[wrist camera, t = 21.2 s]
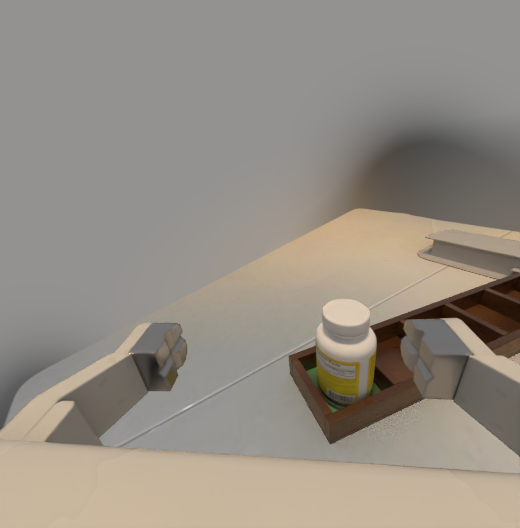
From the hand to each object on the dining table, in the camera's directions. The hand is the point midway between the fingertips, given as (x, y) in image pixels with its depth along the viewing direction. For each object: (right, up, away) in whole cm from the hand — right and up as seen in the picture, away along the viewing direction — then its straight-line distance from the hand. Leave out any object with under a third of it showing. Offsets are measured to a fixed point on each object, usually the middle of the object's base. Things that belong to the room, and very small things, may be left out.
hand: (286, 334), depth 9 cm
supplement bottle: (+8, -10, +17) cm, 21 cm away
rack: (+22, -7, +21) cm, 31 cm away
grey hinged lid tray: (+44, +3, +37) cm, 57 cm away
